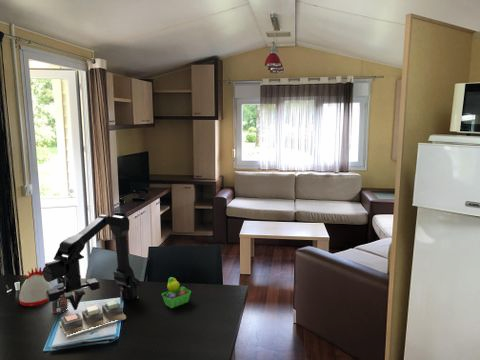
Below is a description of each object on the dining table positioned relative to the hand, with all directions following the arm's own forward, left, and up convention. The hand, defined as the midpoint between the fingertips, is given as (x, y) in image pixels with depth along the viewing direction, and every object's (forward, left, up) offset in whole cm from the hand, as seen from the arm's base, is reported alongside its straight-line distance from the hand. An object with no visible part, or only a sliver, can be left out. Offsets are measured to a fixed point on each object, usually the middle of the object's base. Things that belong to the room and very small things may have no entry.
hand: (75, 309), depth 150 cm
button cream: (-6, 0, -4) cm, 8 cm away
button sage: (-14, 0, -4) cm, 15 cm away
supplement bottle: (+2, -18, -8) cm, 20 cm away
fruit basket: (-41, +6, -8) cm, 42 cm away
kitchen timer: (+8, -37, -8) cm, 38 cm away
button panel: (-6, 0, -7) cm, 10 cm away
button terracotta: (+2, 0, -5) cm, 6 cm away
